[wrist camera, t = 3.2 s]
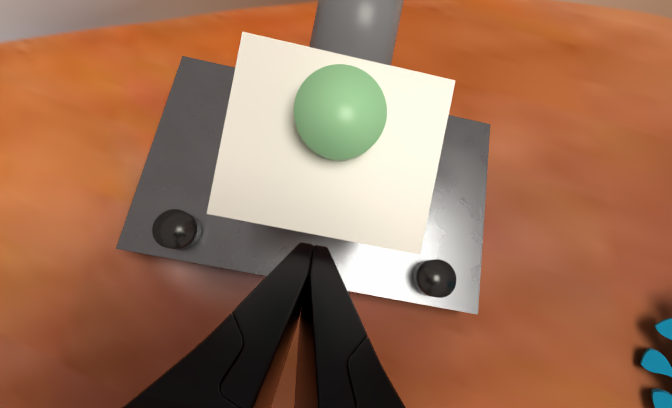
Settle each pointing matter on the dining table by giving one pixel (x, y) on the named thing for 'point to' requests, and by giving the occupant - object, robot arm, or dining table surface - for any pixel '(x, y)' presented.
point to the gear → (659, 365)
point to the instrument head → (333, 132)
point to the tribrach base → (276, 243)
